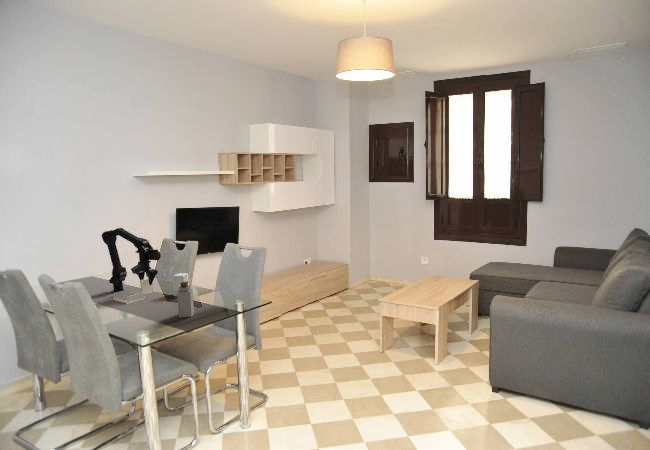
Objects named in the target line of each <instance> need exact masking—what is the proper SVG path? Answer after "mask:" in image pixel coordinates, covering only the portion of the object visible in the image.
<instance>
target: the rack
mask: <svg viewBox="0 0 650 450" xmlns="http://www.w3.org/2000/svg"><path fill="white" fill-rule="evenodd" d="M145 299H146V296H145V294H144V292H143V293H141V290H139V291H136V290H135V289H133V290H132V289H131V288H129V289H124V291H120V292H116V293H115V292H113V298H112V300H113V301H116V302H120V303H122V304H126V305H128V304H131V303H135V302H139V301H142V300H145Z"/></svg>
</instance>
